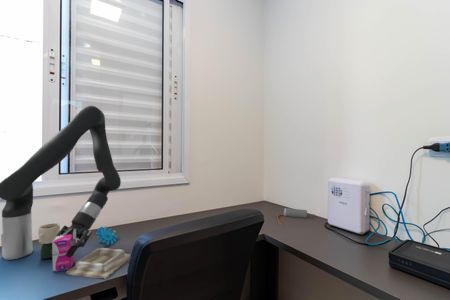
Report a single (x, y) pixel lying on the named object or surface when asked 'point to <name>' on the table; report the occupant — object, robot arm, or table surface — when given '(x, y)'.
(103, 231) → the gear
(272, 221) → the table surface
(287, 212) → the motor
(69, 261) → the supplement box
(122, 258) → the plate
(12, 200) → the robot arm
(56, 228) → the character mug
